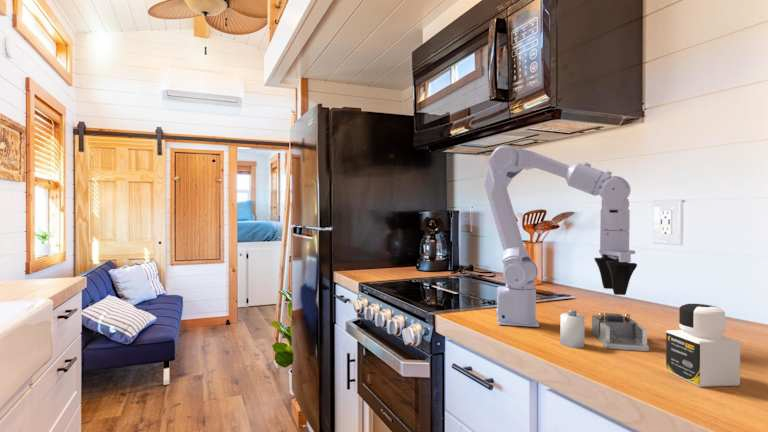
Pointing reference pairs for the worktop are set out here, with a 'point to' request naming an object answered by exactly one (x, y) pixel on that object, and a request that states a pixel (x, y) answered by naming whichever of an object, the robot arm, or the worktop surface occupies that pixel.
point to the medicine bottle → (703, 348)
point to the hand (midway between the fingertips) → (614, 291)
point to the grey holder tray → (619, 332)
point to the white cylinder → (572, 329)
